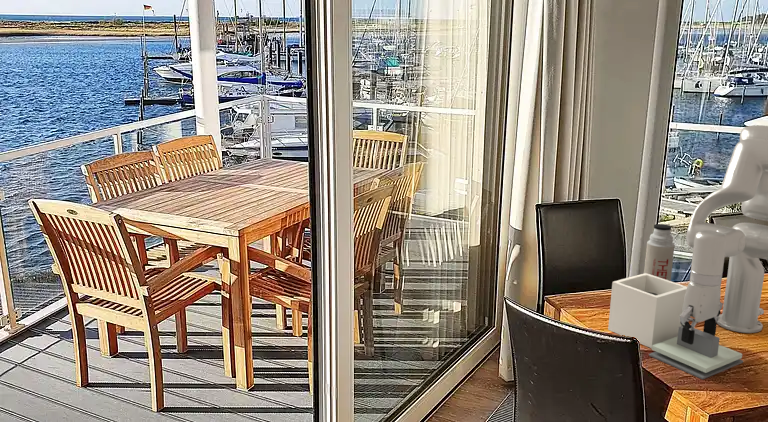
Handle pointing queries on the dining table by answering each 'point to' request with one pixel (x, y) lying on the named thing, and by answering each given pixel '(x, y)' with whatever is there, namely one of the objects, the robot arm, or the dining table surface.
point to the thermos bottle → (660, 252)
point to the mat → (690, 369)
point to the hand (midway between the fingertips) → (698, 338)
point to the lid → (698, 351)
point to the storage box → (646, 308)
